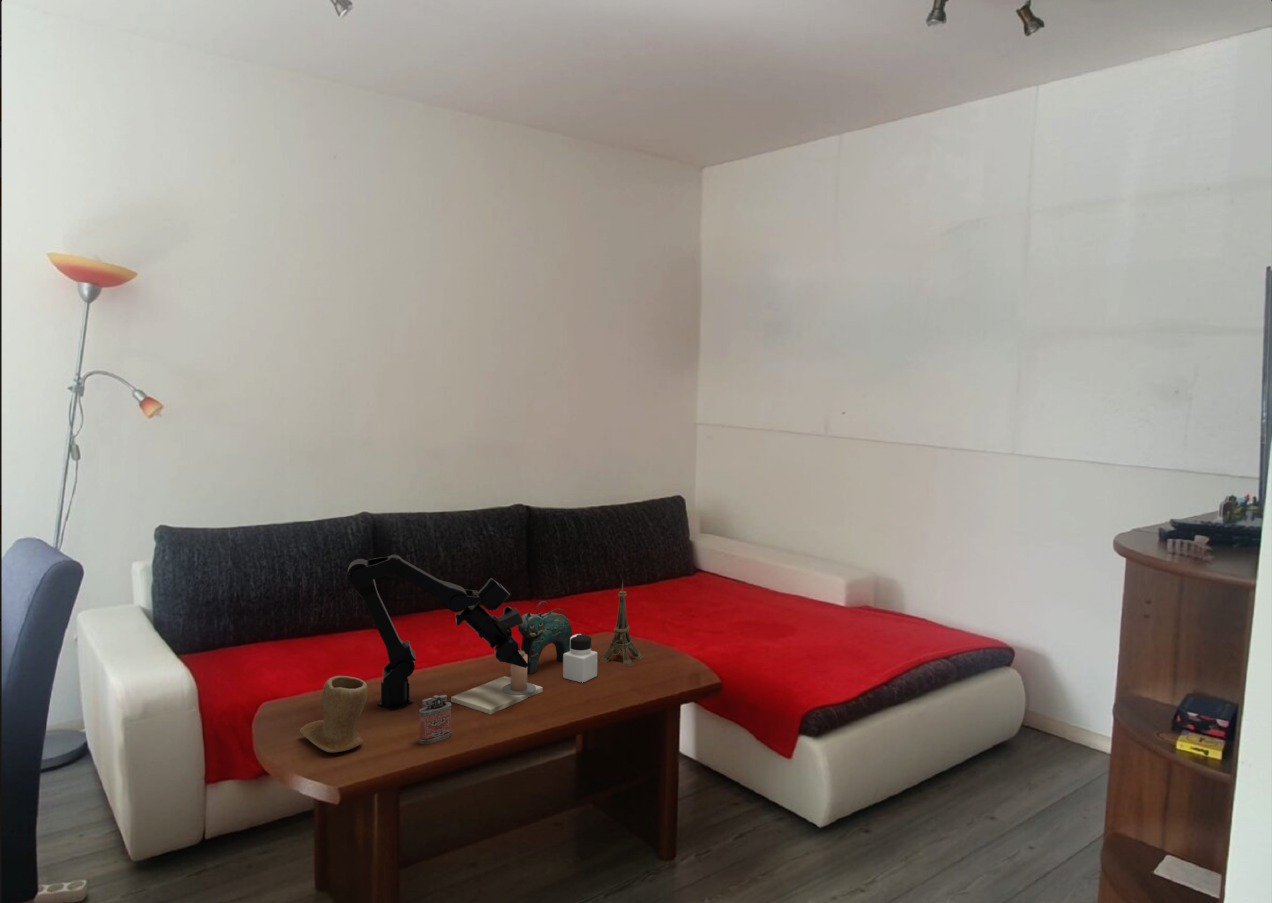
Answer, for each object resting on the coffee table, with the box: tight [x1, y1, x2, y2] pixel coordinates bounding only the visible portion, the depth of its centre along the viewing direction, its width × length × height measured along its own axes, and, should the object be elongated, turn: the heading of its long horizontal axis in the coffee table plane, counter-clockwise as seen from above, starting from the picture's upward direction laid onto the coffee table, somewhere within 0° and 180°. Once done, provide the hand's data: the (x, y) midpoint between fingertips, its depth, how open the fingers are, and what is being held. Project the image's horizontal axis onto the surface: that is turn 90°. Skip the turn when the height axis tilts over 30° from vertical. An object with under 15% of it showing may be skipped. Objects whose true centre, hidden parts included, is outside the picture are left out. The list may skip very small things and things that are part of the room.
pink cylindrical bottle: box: [510, 649, 528, 691], centre depth 226 cm, size 4×4×10 cm
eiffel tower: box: [599, 579, 644, 668], centre depth 256 cm, size 11×11×25 cm
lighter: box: [418, 694, 452, 745], centre depth 197 cm, size 8×3×10 cm, turn 135°
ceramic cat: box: [517, 600, 574, 675], centre depth 248 cm, size 20×6×20 cm, turn 141°
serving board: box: [450, 675, 544, 715], centre depth 224 cm, size 20×14×1 cm
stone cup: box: [299, 675, 369, 753], centre depth 193 cm, size 15×12×15 cm
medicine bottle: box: [562, 633, 598, 684], centre depth 240 cm, size 7×7×12 cm
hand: (524, 660), depth 226 cm, fingers open, 9 cm apart
